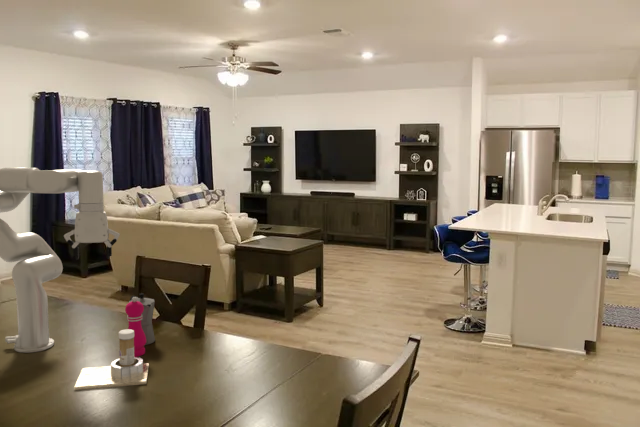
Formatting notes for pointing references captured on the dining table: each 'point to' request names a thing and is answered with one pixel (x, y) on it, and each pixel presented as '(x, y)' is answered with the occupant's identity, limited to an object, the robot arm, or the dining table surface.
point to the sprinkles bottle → (126, 347)
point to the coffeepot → (147, 317)
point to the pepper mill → (136, 325)
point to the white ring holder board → (113, 375)
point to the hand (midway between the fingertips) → (92, 258)
